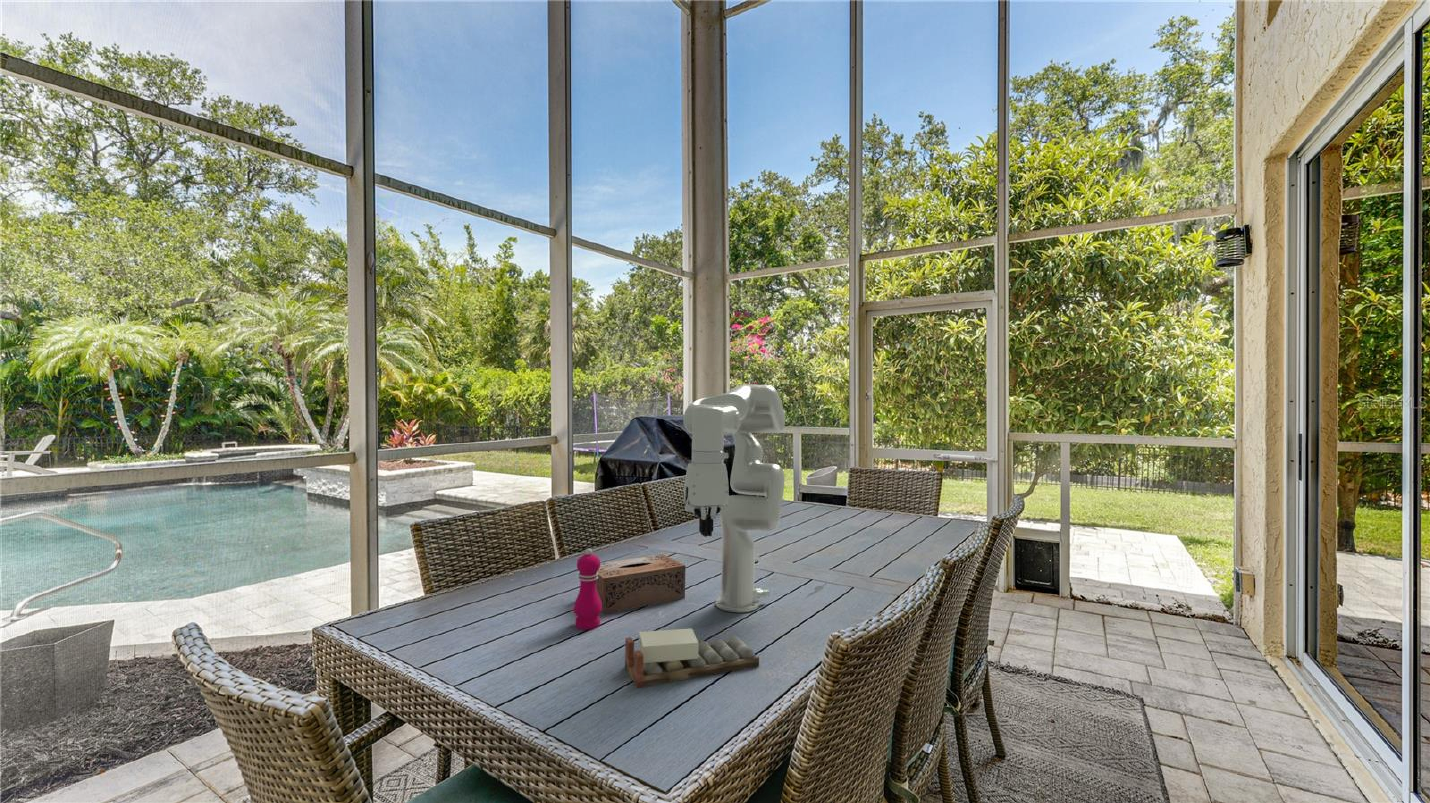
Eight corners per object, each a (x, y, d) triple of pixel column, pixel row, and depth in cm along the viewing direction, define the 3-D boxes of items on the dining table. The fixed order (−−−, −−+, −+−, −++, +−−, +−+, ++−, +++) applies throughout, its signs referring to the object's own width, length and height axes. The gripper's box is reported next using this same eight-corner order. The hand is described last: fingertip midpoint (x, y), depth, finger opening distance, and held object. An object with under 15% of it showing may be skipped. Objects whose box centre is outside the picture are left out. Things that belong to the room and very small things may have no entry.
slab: (691, 643, 137) (691, 628, 137) (698, 658, 129) (698, 642, 129) (638, 647, 134) (639, 631, 134) (642, 663, 126) (642, 646, 126)
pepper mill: (595, 631, 151) (596, 552, 151) (568, 628, 153) (569, 550, 153) (606, 621, 158) (607, 545, 158) (580, 618, 160) (581, 544, 160)
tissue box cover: (662, 585, 190) (663, 554, 190) (684, 598, 178) (685, 565, 178) (584, 598, 176) (585, 565, 176) (603, 614, 164) (603, 578, 164)
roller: (659, 666, 134) (657, 651, 133) (674, 661, 135) (672, 646, 135) (669, 680, 127) (666, 664, 127) (684, 674, 129) (682, 659, 128)
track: (739, 648, 143) (740, 621, 143) (758, 666, 134) (759, 637, 134) (625, 667, 132) (625, 637, 132) (637, 687, 123) (637, 656, 123)
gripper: (729, 455, 148) (728, 529, 149) (672, 457, 143) (671, 534, 143) (742, 459, 142) (741, 536, 142) (683, 460, 136) (681, 541, 136)
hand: (706, 534), depth 142 cm, fingers closed
